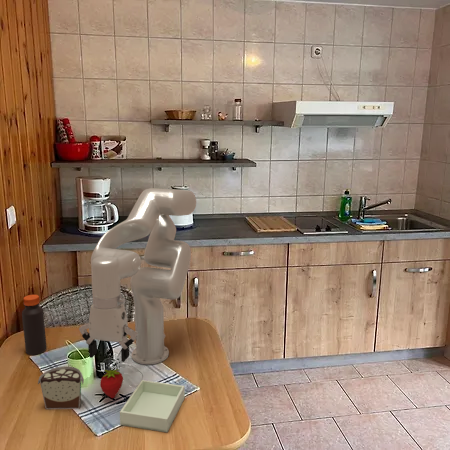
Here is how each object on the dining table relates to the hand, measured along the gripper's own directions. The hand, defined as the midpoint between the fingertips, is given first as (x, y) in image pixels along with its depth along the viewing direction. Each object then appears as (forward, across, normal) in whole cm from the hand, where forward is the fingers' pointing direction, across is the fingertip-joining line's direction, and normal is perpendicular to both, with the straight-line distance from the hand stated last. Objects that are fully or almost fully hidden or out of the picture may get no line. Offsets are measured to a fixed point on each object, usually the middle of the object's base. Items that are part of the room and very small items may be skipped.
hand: (109, 357), depth 127 cm
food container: (+14, +12, +4) cm, 19 cm away
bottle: (+13, +38, -20) cm, 45 cm away
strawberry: (+14, 0, -1) cm, 14 cm away
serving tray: (+13, -14, +2) cm, 20 cm away
